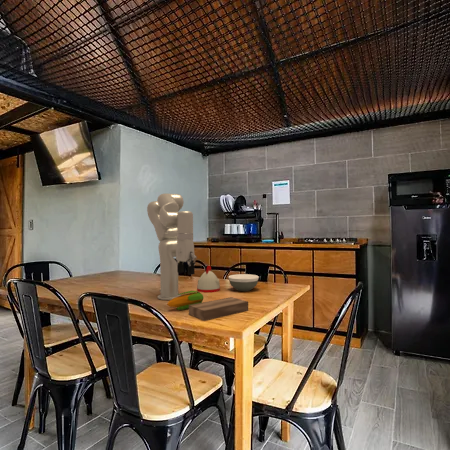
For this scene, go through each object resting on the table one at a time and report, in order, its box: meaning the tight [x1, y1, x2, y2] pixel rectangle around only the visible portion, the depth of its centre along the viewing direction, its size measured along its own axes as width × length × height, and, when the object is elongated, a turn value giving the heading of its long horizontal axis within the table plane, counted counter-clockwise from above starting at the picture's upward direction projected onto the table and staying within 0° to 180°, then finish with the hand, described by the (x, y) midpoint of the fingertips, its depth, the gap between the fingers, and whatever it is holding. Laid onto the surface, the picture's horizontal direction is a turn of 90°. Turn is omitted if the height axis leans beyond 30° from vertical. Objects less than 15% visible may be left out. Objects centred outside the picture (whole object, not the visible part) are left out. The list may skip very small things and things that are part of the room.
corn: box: [166, 290, 204, 311], centre depth 142 cm, size 7×8×20 cm
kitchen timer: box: [196, 265, 221, 294], centre depth 184 cm, size 14×14×15 cm
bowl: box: [228, 273, 260, 292], centre depth 184 cm, size 19×19×8 cm
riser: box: [188, 296, 249, 322], centre depth 134 cm, size 12×24×4 cm, turn 128°
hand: (185, 273), depth 143 cm, fingers open, 9 cm apart
